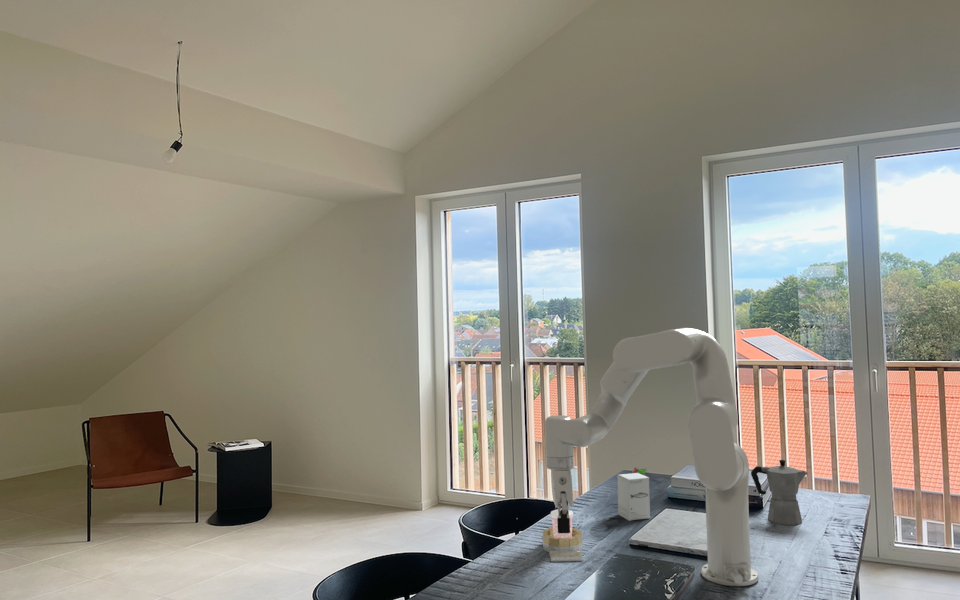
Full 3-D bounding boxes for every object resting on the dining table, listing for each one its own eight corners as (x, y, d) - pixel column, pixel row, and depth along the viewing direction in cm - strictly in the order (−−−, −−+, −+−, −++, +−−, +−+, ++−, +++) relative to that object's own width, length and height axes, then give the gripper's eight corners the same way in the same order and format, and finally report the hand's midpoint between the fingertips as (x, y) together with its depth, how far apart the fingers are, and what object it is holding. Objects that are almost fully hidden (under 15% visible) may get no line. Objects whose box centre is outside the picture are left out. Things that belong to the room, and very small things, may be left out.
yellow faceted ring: (584, 554, 173) (584, 538, 173) (544, 555, 173) (544, 539, 173) (576, 535, 188) (576, 520, 188) (540, 535, 188) (540, 521, 189)
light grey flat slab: (587, 560, 168) (587, 552, 168) (546, 561, 168) (546, 553, 168) (579, 540, 183) (579, 533, 184) (541, 541, 184) (541, 534, 184)
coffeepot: (808, 518, 198) (806, 457, 198) (810, 527, 189) (807, 464, 190) (753, 513, 204) (750, 455, 204) (752, 522, 195) (750, 461, 196)
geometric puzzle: (657, 481, 237) (647, 461, 242) (643, 484, 234) (633, 464, 238) (646, 490, 242) (636, 470, 246) (632, 493, 238) (622, 473, 243)
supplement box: (629, 521, 199) (627, 479, 200) (617, 514, 207) (616, 474, 207) (651, 518, 201) (649, 477, 202) (639, 512, 209) (637, 471, 209)
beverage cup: (557, 540, 182) (555, 490, 183) (578, 544, 179) (576, 492, 180) (547, 547, 177) (546, 495, 178) (569, 551, 174) (567, 498, 174)
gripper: (578, 468, 170) (580, 538, 170) (570, 455, 188) (572, 518, 187) (549, 469, 170) (551, 539, 170) (543, 455, 188) (545, 519, 187)
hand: (562, 528), depth 178 cm, fingers open, 6 cm apart
